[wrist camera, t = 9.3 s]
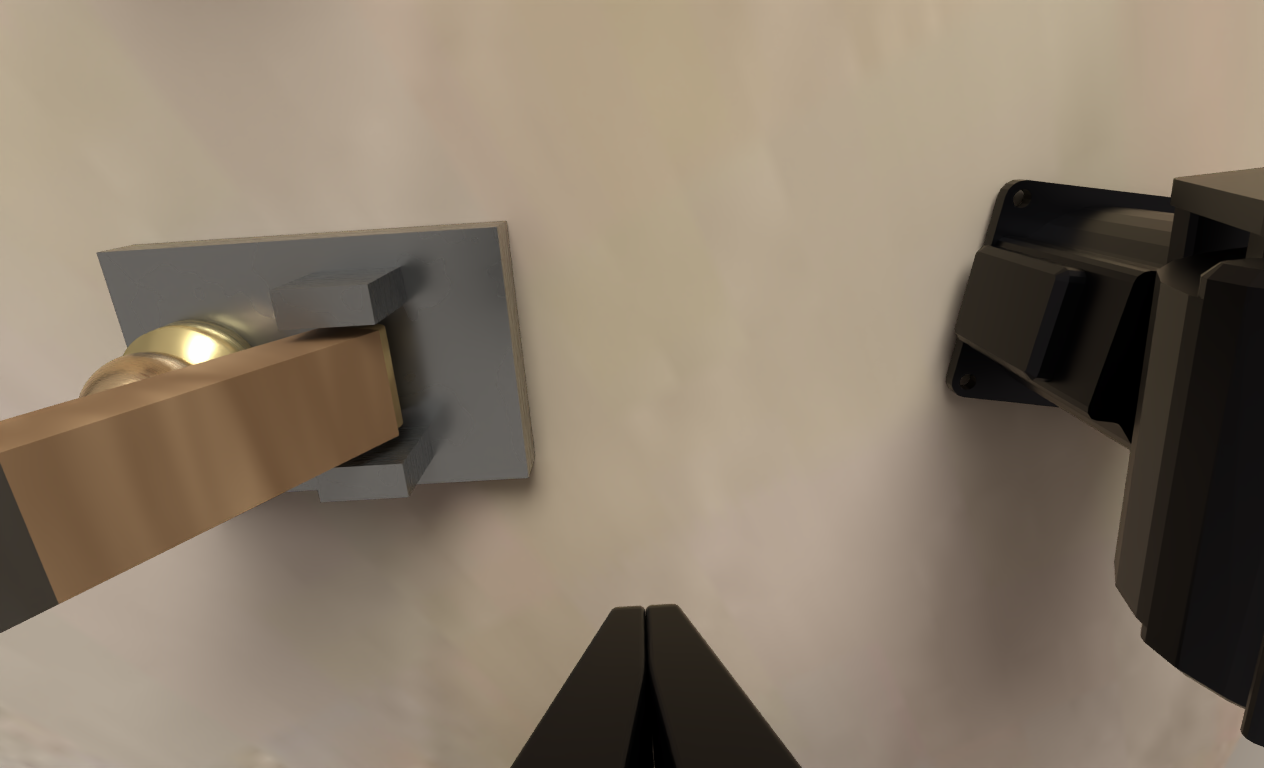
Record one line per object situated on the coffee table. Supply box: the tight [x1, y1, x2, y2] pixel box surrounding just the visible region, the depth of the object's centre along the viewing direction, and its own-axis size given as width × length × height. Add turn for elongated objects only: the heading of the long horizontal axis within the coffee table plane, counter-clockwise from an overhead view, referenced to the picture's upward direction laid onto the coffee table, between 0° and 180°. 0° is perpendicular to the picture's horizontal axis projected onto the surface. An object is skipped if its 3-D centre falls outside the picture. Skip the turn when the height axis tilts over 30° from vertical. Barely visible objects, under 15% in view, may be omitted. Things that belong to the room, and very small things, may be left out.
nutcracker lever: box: [0, 324, 403, 633], centre depth 14 cm, size 2×3×14 cm, turn 3°
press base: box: [79, 221, 535, 502], centre depth 19 cm, size 11×8×5 cm
